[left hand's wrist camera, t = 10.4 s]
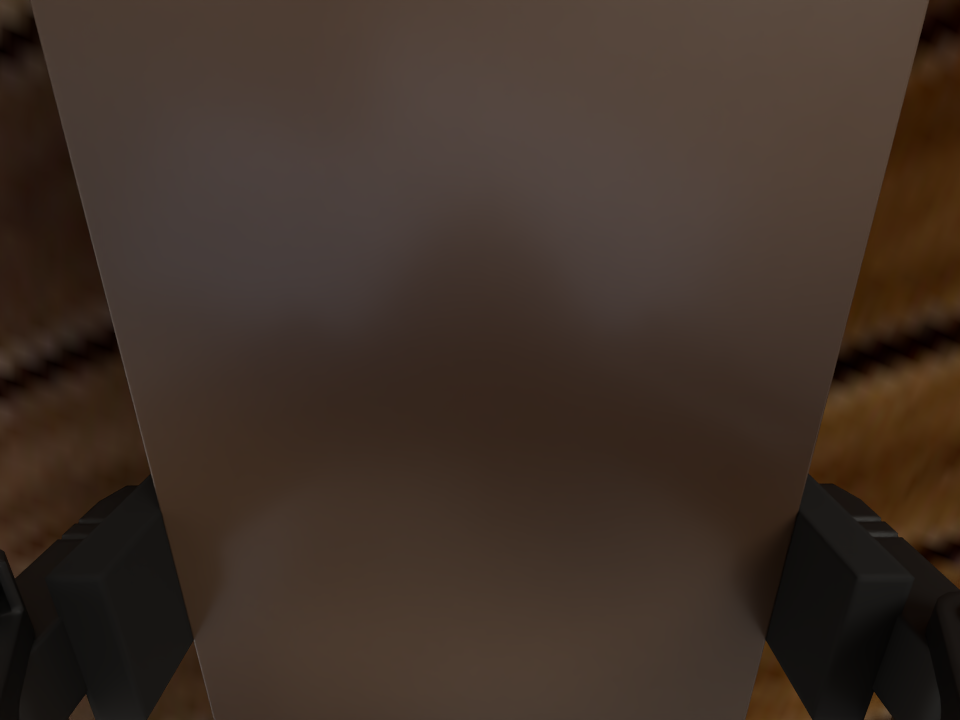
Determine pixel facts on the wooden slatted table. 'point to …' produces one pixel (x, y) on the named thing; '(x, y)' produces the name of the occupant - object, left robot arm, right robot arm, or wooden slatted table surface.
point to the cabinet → (479, 329)
